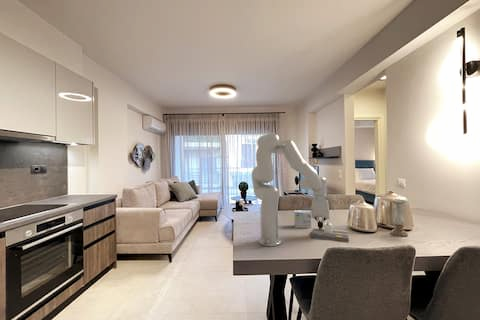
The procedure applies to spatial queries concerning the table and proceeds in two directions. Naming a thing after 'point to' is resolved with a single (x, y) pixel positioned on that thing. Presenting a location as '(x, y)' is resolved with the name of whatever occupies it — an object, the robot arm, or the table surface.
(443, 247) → the table surface
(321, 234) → the switch board
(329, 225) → the switch tab
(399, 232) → the candle holder
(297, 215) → the light bulb box
